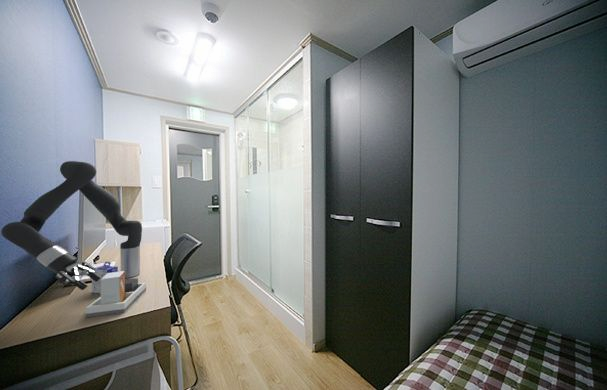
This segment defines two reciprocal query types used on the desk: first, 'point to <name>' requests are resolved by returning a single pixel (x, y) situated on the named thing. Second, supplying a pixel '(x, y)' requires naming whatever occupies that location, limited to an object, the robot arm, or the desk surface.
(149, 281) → the desk surface
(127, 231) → the robot arm
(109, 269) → the ink cartridge box
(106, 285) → the small box
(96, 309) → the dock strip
